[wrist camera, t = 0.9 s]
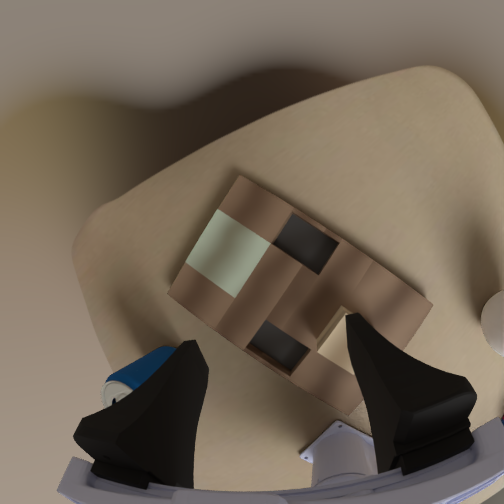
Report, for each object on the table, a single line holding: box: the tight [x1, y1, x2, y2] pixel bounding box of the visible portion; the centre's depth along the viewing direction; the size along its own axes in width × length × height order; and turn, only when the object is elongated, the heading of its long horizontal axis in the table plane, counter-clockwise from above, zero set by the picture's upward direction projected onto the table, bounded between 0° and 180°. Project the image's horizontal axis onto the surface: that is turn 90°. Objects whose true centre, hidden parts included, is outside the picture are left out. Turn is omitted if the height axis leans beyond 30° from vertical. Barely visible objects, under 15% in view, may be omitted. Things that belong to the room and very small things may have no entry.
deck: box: [167, 175, 433, 416], centre depth 30 cm, size 26×16×2 cm, turn 57°
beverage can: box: [101, 346, 176, 408], centre depth 28 cm, size 6×6×12 cm
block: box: [316, 305, 355, 375], centre depth 26 cm, size 4×4×4 cm
